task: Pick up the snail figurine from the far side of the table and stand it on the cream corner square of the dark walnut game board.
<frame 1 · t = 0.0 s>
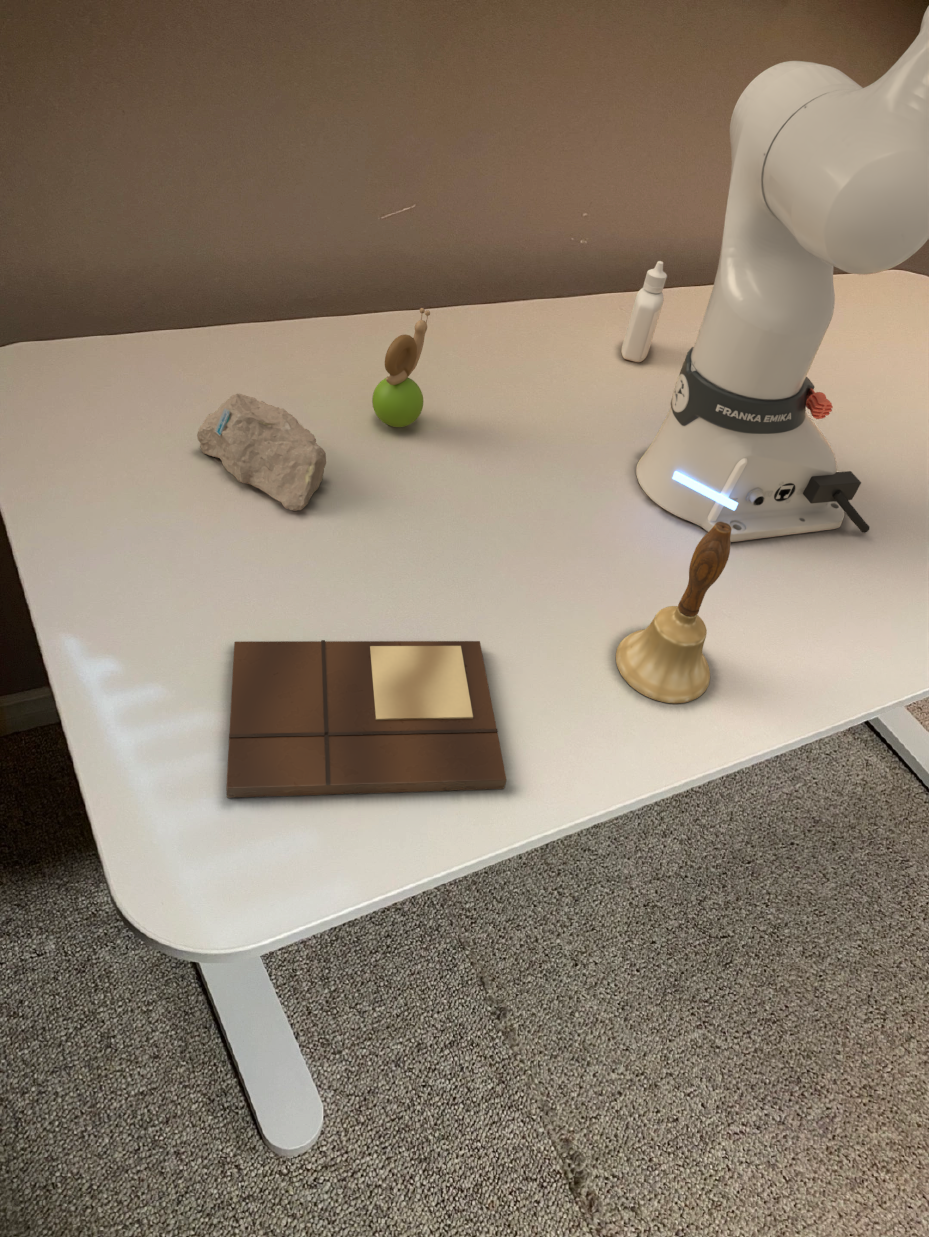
game board: (364, 717, 72), on the table
concrete fragment: (265, 473, 92), on the table
hand bell: (661, 668, 80), on the table
eye dropper bottle: (633, 354, 120), on the table
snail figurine: (398, 422, 102), on the table
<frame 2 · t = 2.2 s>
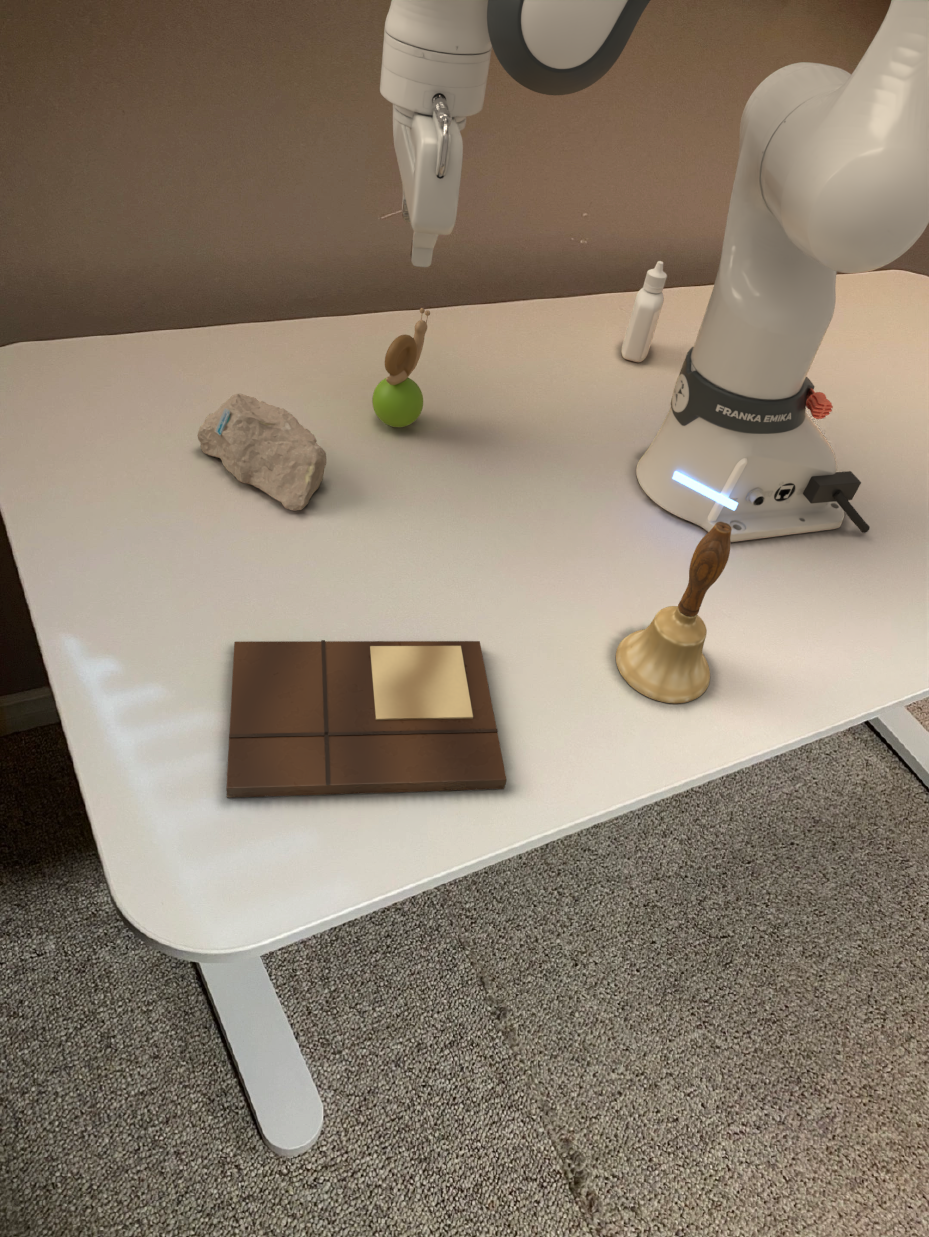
hand: (415, 240, 87), 20 cm above the table, tool pointing down, fingers open, 8 cm apart
nothing on the table moved.
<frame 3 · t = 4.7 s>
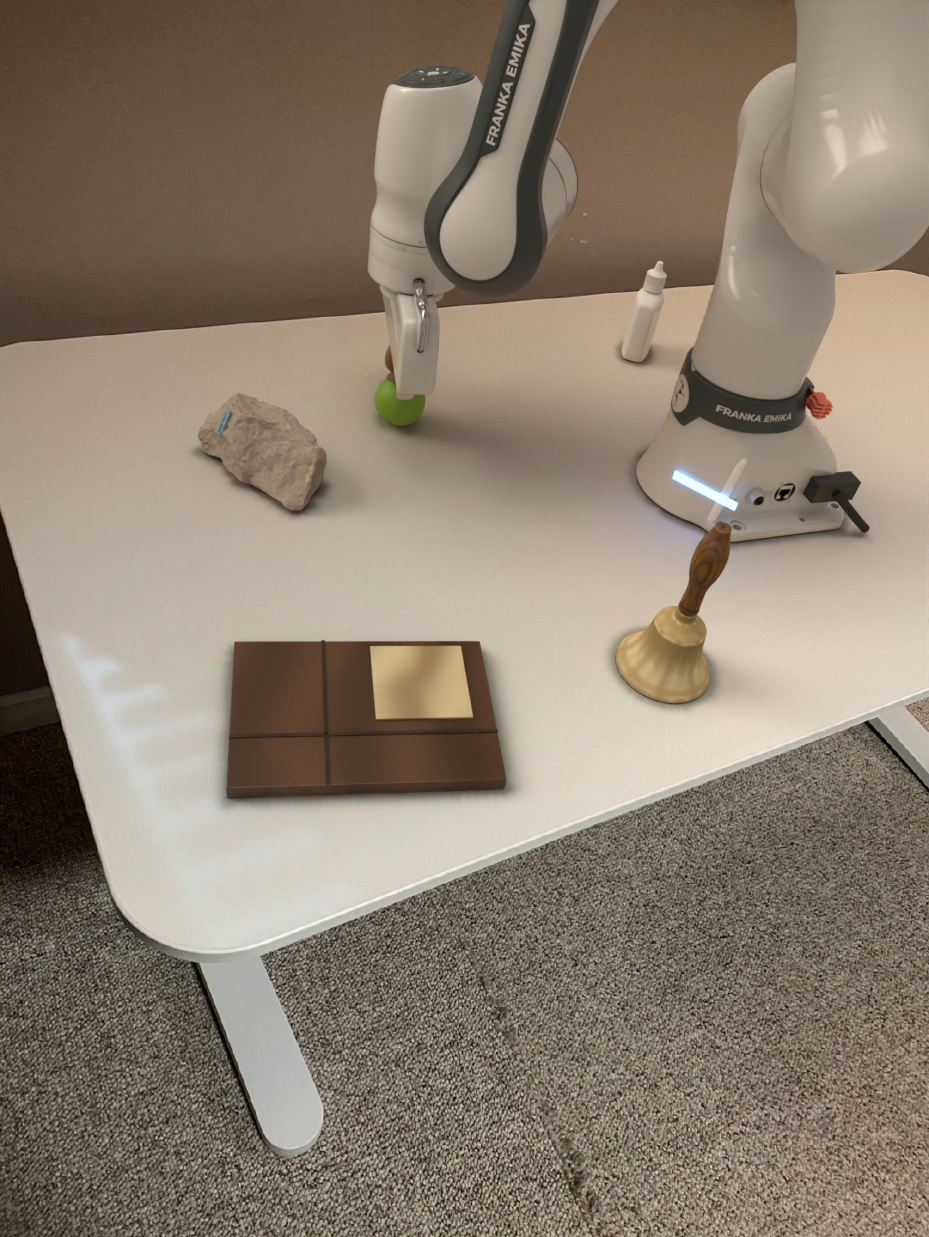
hand: (402, 385, 98), 5 cm above the table, tool pointing down, fingers closed on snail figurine, 3 cm apart
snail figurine: (400, 421, 102), on the table, touching gripper
everything else where it was.
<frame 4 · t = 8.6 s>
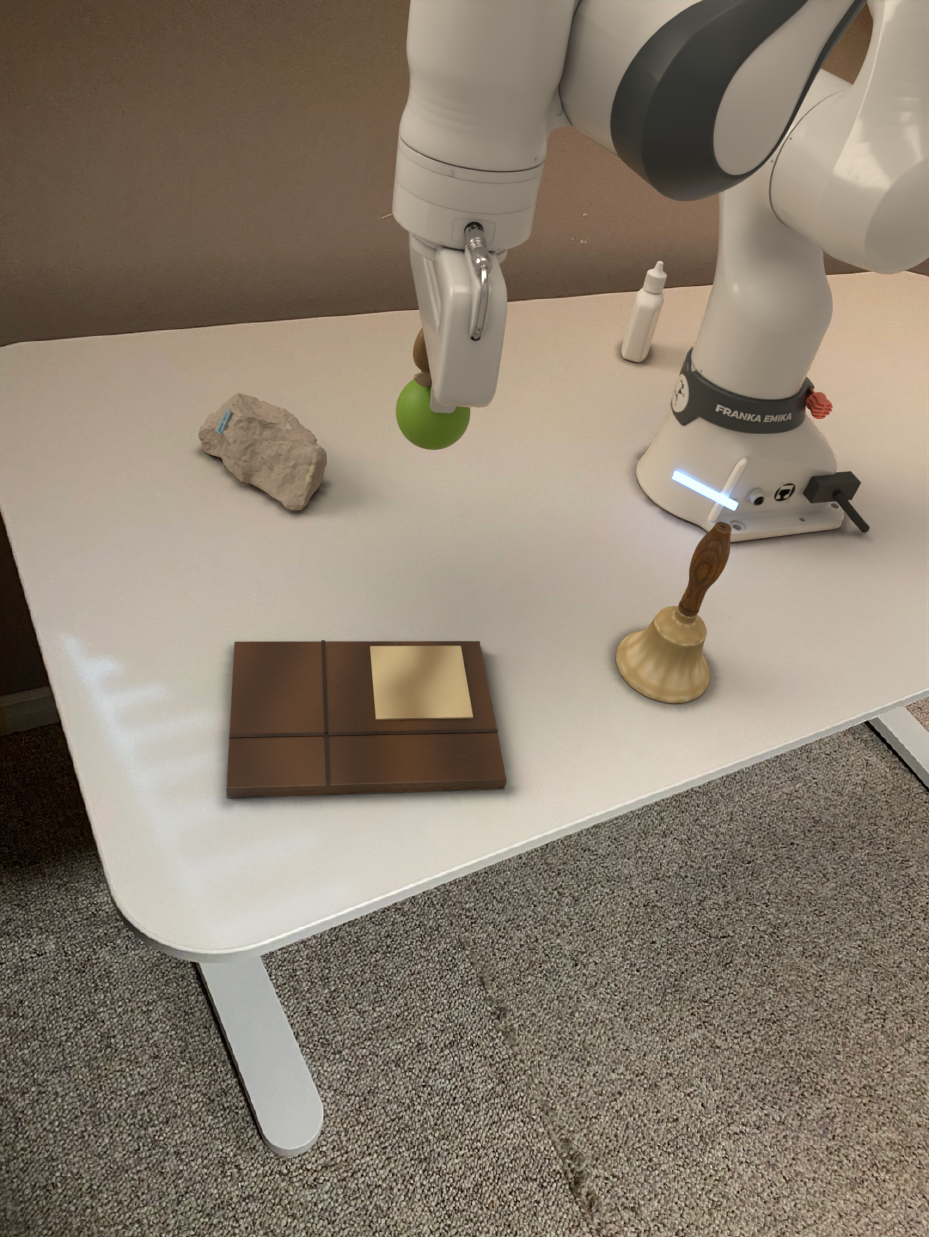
hand: (438, 390, 67), 21 cm above the table, tool pointing down, fingers closed on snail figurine, 3 cm apart
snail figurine: (433, 443, 70), point 17 cm above the table, touching gripper
everything else where it was.
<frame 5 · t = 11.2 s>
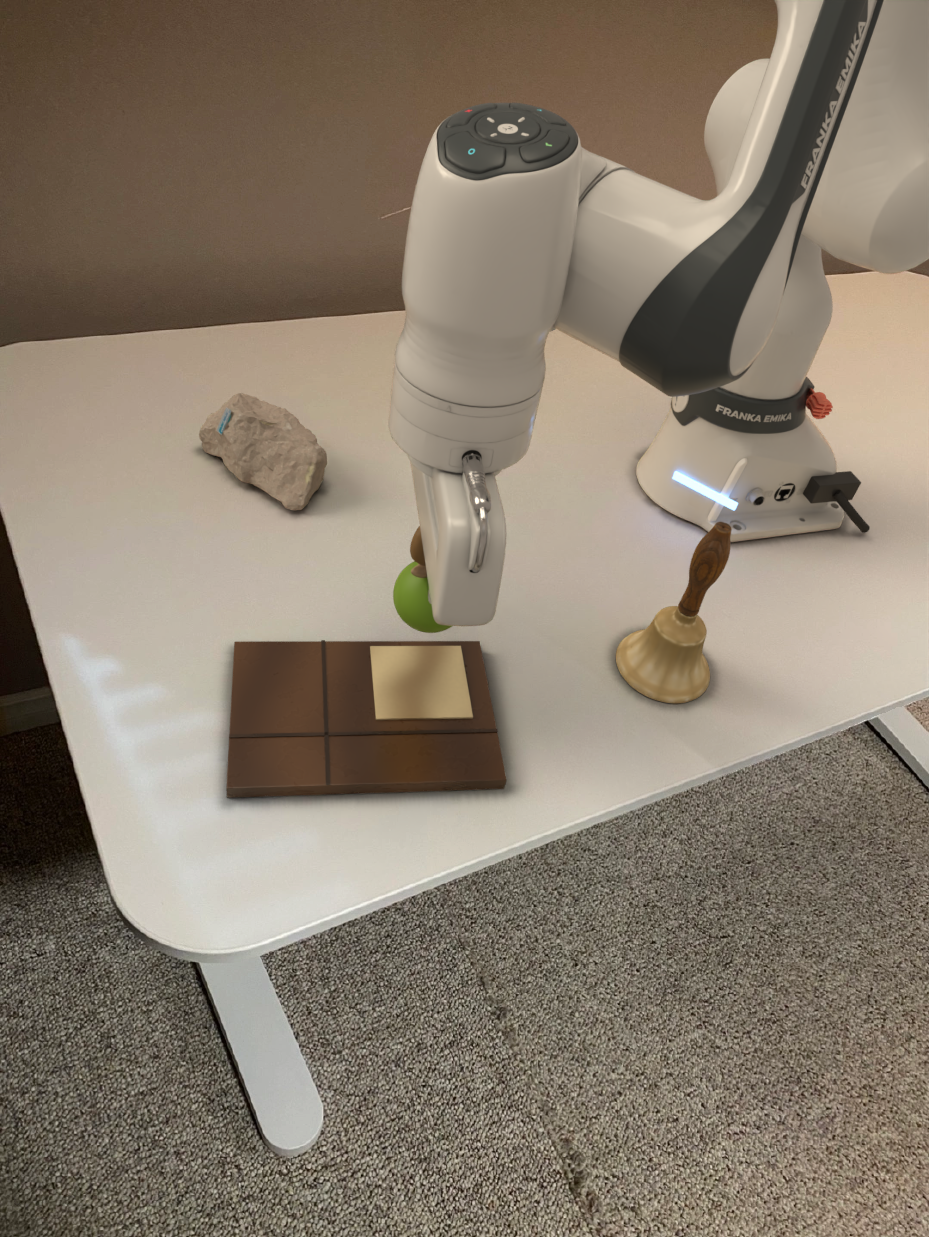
hand: (436, 576, 66), 13 cm above the table, tool pointing down, fingers closed on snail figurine, 3 cm apart
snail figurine: (431, 620, 69), point 8 cm above the table, touching gripper
everything else where it was.
when the fingers open (6 cm above the table, at t = 13.0 s): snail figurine stays where it is, resting on game board.
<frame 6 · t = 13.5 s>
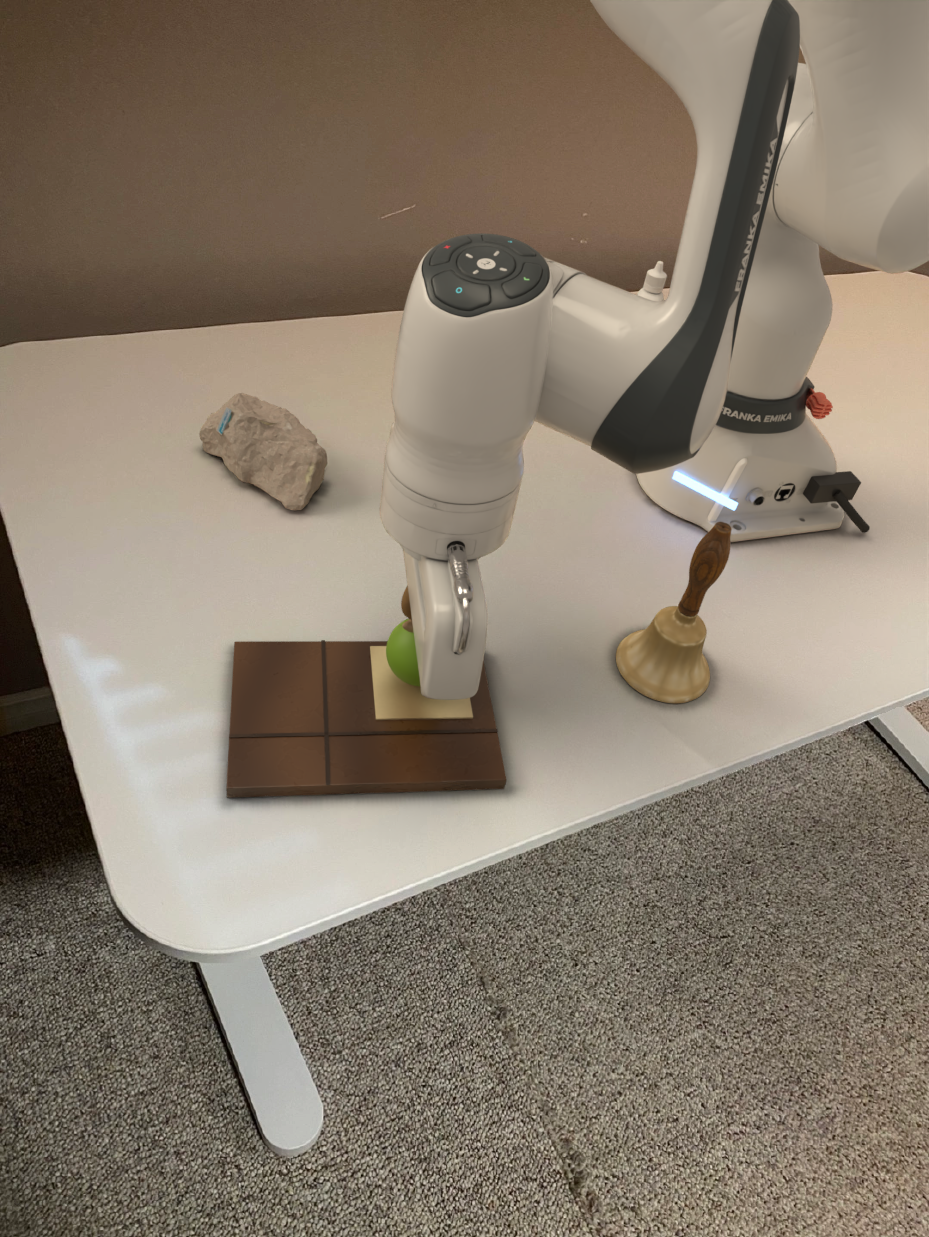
hand: (425, 643, 70), 6 cm above the table, tool pointing down, fingers open, 8 cm apart
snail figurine: (421, 677, 74), point 1 cm above the table, touching game board
everything else where it was.
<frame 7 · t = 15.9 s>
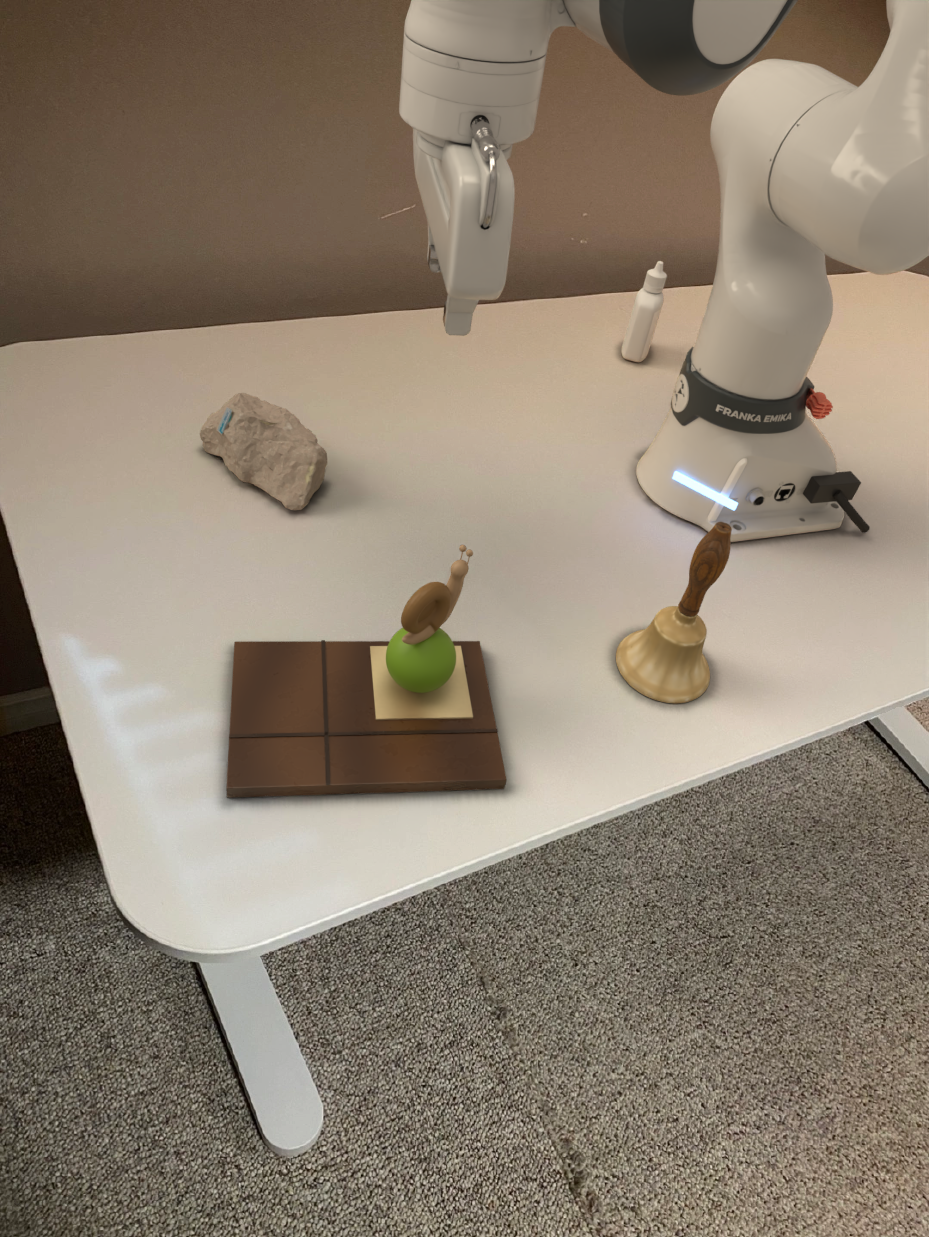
hand: (446, 298, 69), 25 cm above the table, tool pointing down, fingers open, 8 cm apart
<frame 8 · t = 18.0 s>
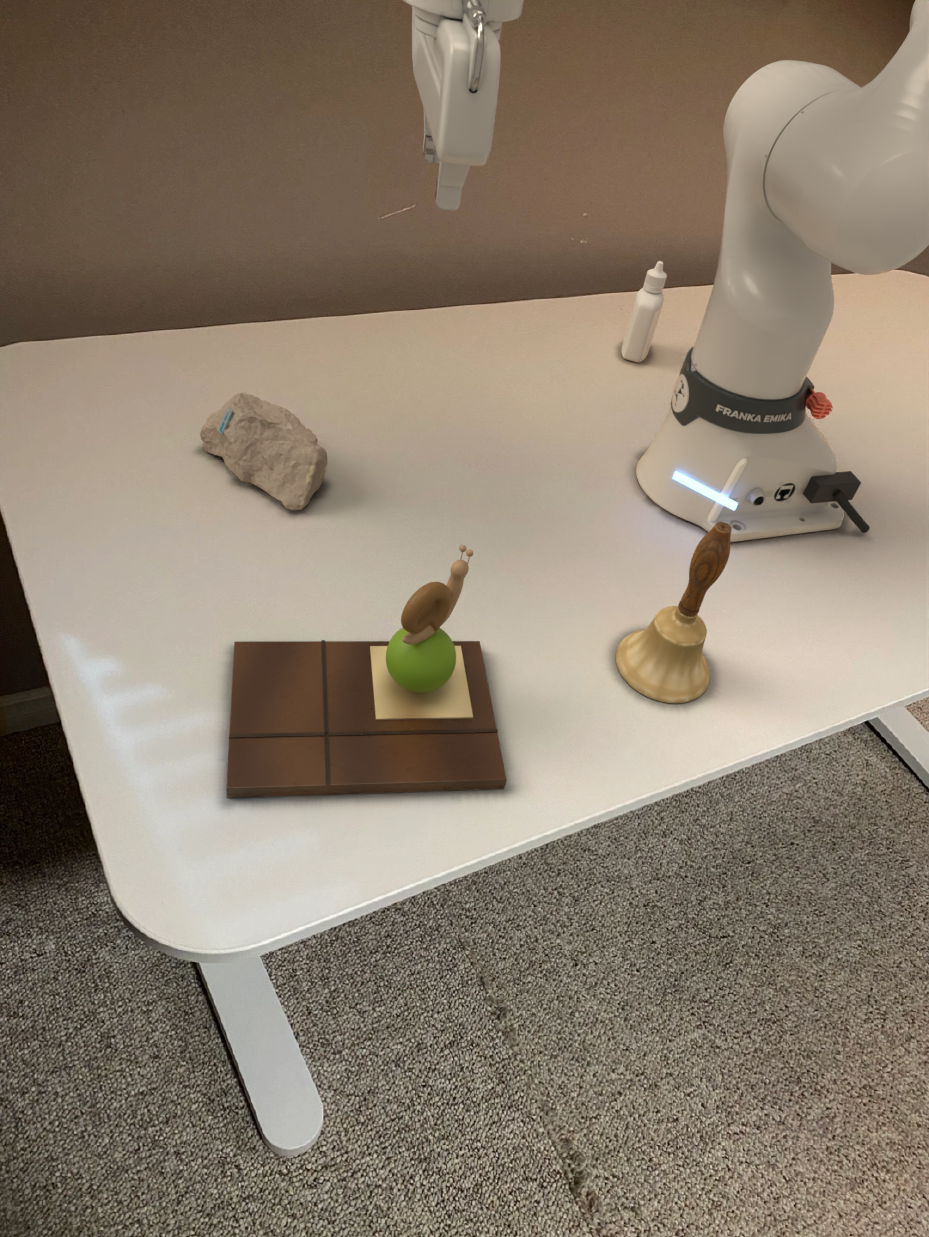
hand: (439, 182, 74), 29 cm above the table, tool pointing down, fingers open, 8 cm apart
nothing on the table moved.
at the end: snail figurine 0.3 cm from the target spot on the game board, point 1.2 cm above the game board's base; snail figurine tilted 0°; the gripper is holding nothing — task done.
